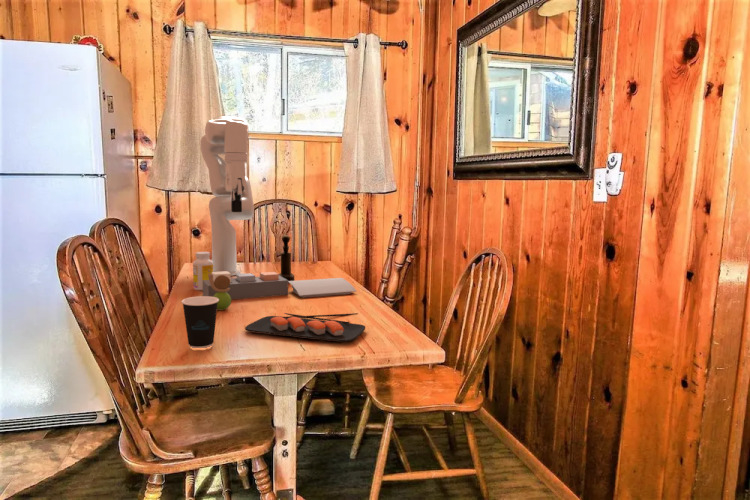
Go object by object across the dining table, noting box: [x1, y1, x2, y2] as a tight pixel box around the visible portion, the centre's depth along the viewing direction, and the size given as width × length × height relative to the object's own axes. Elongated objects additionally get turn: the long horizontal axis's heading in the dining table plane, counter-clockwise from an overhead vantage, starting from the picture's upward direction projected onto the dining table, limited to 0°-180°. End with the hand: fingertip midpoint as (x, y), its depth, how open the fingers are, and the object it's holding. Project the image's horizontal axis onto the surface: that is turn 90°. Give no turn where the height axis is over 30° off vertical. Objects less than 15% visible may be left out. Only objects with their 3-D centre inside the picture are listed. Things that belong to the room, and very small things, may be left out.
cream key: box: [212, 271, 232, 283], centre depth 164 cm, size 5×5×4 cm
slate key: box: [235, 273, 256, 282], centre depth 168 cm, size 5×5×4 cm
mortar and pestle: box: [278, 234, 295, 284], centre depth 193 cm, size 7×6×18 cm
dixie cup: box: [181, 295, 219, 348], centre depth 114 cm, size 8×8×11 cm
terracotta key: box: [259, 271, 280, 281], centre depth 172 cm, size 5×5×4 cm
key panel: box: [202, 276, 289, 301], centre depth 168 cm, size 10×26×5 cm, turn 119°
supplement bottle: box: [192, 251, 213, 291], centre depth 176 cm, size 7×7×13 cm
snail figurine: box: [208, 270, 232, 311], centre depth 147 cm, size 5×6×12 cm
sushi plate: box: [244, 312, 366, 343], centre depth 135 cm, size 29×30×4 cm
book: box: [288, 277, 357, 299], centre depth 176 cm, size 15×23×4 cm, turn 116°
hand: (236, 211), depth 176 cm, fingers closed
